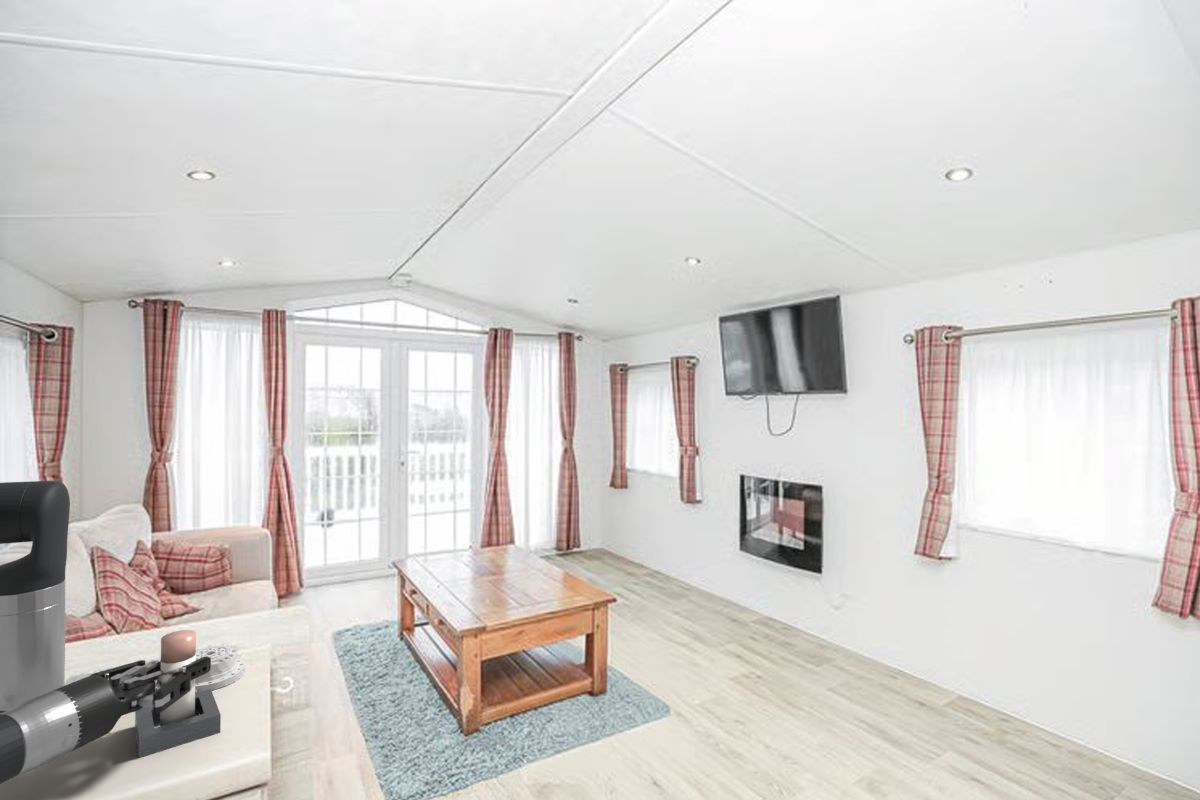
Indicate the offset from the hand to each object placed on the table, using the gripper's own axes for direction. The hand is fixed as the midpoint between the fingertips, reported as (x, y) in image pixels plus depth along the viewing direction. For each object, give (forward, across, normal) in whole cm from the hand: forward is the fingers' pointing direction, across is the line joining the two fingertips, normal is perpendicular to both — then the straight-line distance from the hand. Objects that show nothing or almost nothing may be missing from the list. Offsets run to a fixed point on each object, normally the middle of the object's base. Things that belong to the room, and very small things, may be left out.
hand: (197, 660), depth 85 cm
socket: (-3, 0, +9) cm, 9 cm away
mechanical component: (+9, +10, +9) cm, 16 cm away
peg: (-3, 0, +7) cm, 8 cm away
